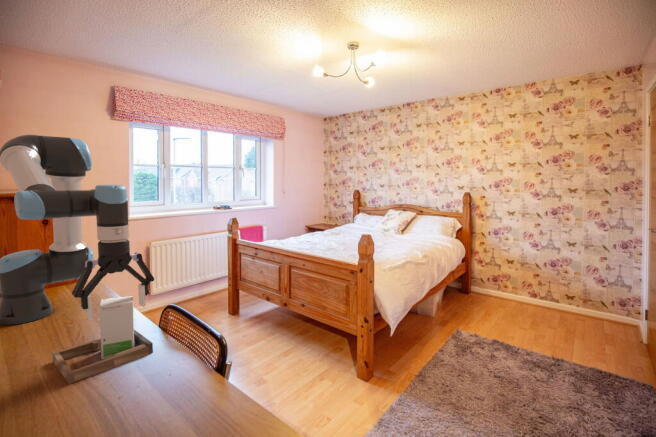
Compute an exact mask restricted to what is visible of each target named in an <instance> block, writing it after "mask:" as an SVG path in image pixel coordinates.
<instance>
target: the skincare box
mask: <svg viewBox="0 0 656 437" xmlns="http://www.w3.org/2000/svg"><path fill="white" fill-rule="evenodd" d="M99 322H100V323H99V324H100V330H99V332H100V338H101V350H100V353H101V354H100V356H101V357H100V359H101V360H104V359H107V357H108V356H109V355H114V354H116V353H119V352H122V351H125V350H128V349H131V348H134V347H135V343H134V330H135V328H134V327H135V323H134V322H135V317H134V296H133V295H131V296H130V295H129V296H121V297H120V296H117V297H112V298H103V299H102V298H101V299H100V302H99Z"/></svg>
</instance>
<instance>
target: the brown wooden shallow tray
mask: <svg viewBox="0 0 656 437" xmlns="http://www.w3.org/2000/svg"><path fill="white" fill-rule="evenodd" d="M134 345H136V346H134V348H131V349H128V350H125V351H122V352H119V353H116V354H114V355H109V356H108V357H107V359H101V360H99V361H96V362H93V363H90V364H88V365H85V366H82V367H79V368H76V369H72V368H71V367H70V365H69V364H68V363H67V361H66V360H68V359H70V358H75V357H77V356H80V355H83V354H86V353H89V352H100V351H101V337H100V338H96V339H93V340H90V341H87V342H83V343H80V344H77V345H75V346H74V345H73V346H70V347H67V348H64V349H61V350H60V349H59V350H58V351H57V350H56V351H54V352H52V354H51V355H52V362H53V364H54V365H55V366H56V368H57V370H58V371H59V372H60V374H61V375H62V377H63V378H64V380H65V381H66V382H67V383H68V385H69V384H70V385H71V384H73V383H75V382H78V381H81V380H83V379H86V378H89V377H91V376H94V375H96V374H99V373H103V372H105V371H107V370H111V369H113V368H115V367H119V366H121V365H124V364H127V363H128V362H133V361H135V360H137V359H140V358H142V357H145V356H147V355H150V354H153V353H154V348H153V347H154V346H153V342H152V341H151V340H149V339H148V338H146V337H145V336H144V335H142V334H141V333H140V332H139V331H137V330H136V329H134Z"/></svg>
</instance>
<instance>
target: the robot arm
mask: <svg viewBox="0 0 656 437" xmlns="http://www.w3.org/2000/svg"><path fill="white" fill-rule="evenodd" d="M92 162H93V161H92V155H91V150H90V149H89V147H88V145H87V143H86V142H85V141H84V140H82V139H79V138H74V137H73V138H72V137H66V136H65V137H64V136H51V135H48V136H47V135H37V134H24V135H18V136H16V137H13V138H11V139H9V140H8V141H6V142H5V143H4V144H3V145H2V146H1V147H0V164H1V166H2V167H3V168H4V169H5V170H6V171H8V172H9V173H10V176H11V177H12V180H13V181H14V184H15V186H16V188H17V190H18V191H17V192H16V193H15V194H14V209H15V210H14V211H15V215H16V217H17V218H19V219H20V220H25V221H26V220H35V221H39V220H46V219H47V220H49V219H52V225H53V226H52V227H53V228H52V229H53V243H52V244H50V245H49V246H48V252H43V251H42V250H41V249H38V248H37V249H26V250H21V251H16V252H12V253H9V254H6V255H4V256H2V257H1V258H0V325H5V326H6V325H7V326H9V325H11V326H12V325H21V324H26V323H29V322H33V321H36V320H40V319H43V318H45V317H47V316H49V315H51V314H52V313H53V304H52V303H51V301H50V298H49V297H48V295H47V294H46V292H45V285H49V284H55V283H60V282H66V281H72V280H77V281H76V284H75V285H74V288H73V289H72V292H71V295H72V297H74V298H76V299H77V298H80V307H81V308H82V309H83V310H85V318H86V319H87V320H88V321H89V322H91V321H93V320H94V318H93V302H92V301H93V300H92V296H91V295H90V294H92V292H93V290H95V288H96V287H97V286H98V284H99V283H100V282H101V281H102V280H103V278H105V277H106V276H107V275H108V274H110V275H111V274H114V273H123V272H124V271H126V272H128V273H129V274H131V276H133V277H134V278H135V279H137V281H139V282H140V283H138V284H137V285H138V304H139V306H140V307H142V308H144V307H146V296H147V295H148V294H149V285H150V283H151V282H154V281H155V277H154V276H153V274H152V273H151V271H150V269H149V268H148V266H147V265H146V263H145V262H144V259H143V255H142V254H141V253H140V252H135V253H133V254H131V252H130V251H131V249H130V248H131V247H130V240H129V238H130V231H129V230H130V229H129V226H130V224H129V203H128V202H129V201H128V200H129V196H128V189H127V187H126V186H125V185H122V184H99V185H96V186H95V187H94V188H93V189H88V190H87V189H86V190H84V189H82V180H83V179H84V178H85V177H86V176H87V174H86V172H89V171H91V170H92V166H93V163H92ZM50 179H51V180H50ZM95 216H96V236H97V237H96V238H97V240H98V242H97V254H98V256H97V259H95V260H94V253H93V249H92V248H90V247H88V244H87V243H86V242H85V241H83V220H82V219H83V218H84V217H95ZM82 217H83V218H82ZM132 260H133V261H134V262H136V264H137V266H138V267H139V269H140V270H141V272H142V273H143V275H144V276H145V278H144V277H143V275H141V274H140V273H139V272H137V270H135V269H134V268H133V267H132V266H130V265H129V264H130V263H131V261H132ZM96 266H99V269H97V271H96V273H95V275H93V277H91V279H90V281H89V282H88V280H89V278H90V276H91V274H92V271H93V269H95V268H96ZM87 282H88V283H87Z"/></svg>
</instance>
